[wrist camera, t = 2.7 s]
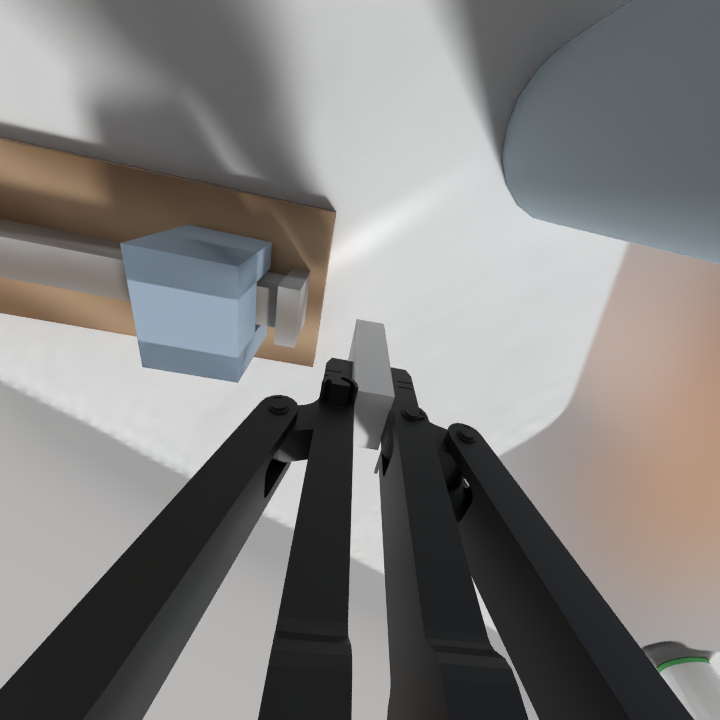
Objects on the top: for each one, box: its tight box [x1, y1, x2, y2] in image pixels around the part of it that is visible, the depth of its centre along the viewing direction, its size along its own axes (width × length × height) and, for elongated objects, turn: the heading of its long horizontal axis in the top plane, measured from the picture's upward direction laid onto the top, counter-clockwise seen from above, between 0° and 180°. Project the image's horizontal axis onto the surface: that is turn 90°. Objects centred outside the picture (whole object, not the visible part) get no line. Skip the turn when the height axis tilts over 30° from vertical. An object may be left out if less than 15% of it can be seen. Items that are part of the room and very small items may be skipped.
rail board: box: [0, 137, 336, 367], centre depth 18 cm, size 11×28×7 cm, turn 79°
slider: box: [120, 225, 272, 383], centre depth 18 cm, size 6×5×6 cm
